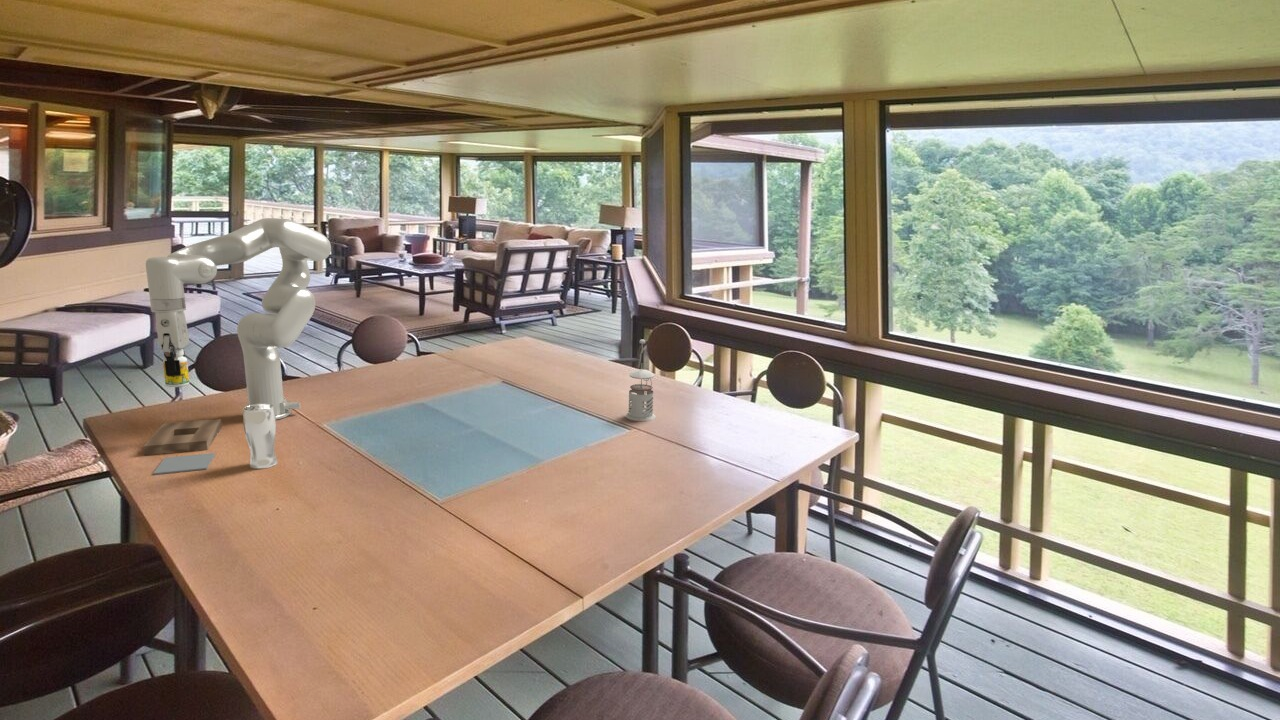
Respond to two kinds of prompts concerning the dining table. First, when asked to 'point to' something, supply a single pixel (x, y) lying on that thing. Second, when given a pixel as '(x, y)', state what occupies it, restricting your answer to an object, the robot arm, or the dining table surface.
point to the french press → (641, 396)
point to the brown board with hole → (183, 437)
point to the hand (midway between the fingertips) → (176, 371)
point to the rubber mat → (184, 463)
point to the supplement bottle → (183, 377)
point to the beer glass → (260, 434)
